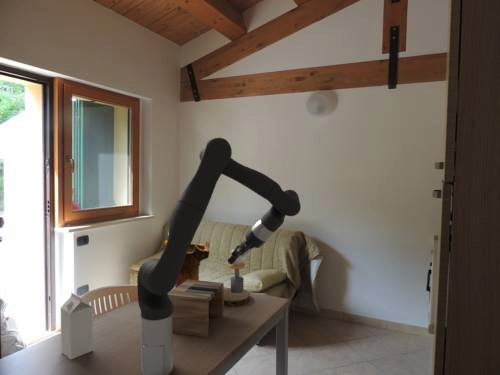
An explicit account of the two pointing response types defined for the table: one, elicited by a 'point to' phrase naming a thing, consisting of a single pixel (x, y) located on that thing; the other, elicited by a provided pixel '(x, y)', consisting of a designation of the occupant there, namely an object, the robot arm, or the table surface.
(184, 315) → the wooden slotted block
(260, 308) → the table surface
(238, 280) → the cylinder with orange collar
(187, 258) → the decorative vase
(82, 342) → the milk carton
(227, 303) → the wood slice
